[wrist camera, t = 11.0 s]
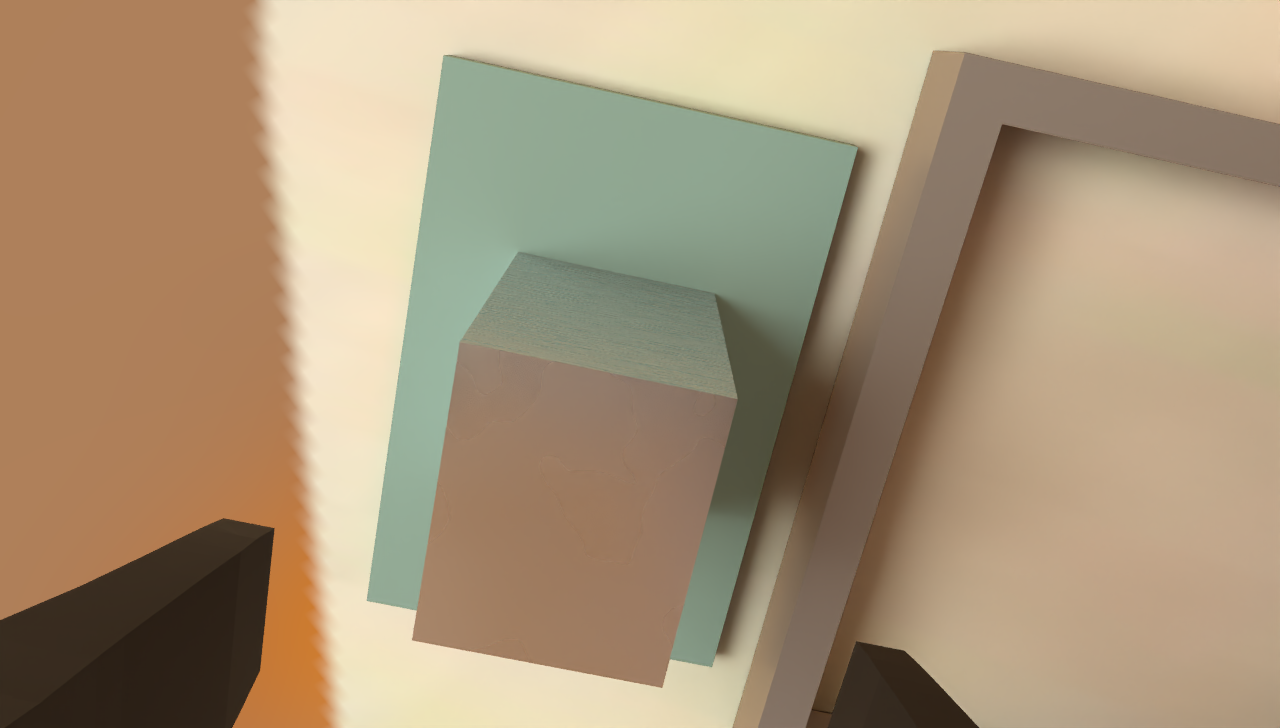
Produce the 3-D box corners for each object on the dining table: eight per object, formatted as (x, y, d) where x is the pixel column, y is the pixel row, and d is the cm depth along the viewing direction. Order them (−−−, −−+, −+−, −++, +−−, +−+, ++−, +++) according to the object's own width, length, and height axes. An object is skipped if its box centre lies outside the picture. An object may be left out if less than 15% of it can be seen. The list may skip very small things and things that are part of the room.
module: (661, 511, 21) (662, 687, 15) (479, 475, 21) (412, 640, 15) (714, 293, 19) (737, 399, 14) (518, 251, 19) (459, 342, 14)
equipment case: (1316, 840, 24) (1673, 1277, 16) (731, 730, 23) (774, 1127, 15) (1663, 217, 19) (2473, 363, 11) (933, 50, 18) (1172, 63, 10)
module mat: (710, 653, 23) (712, 667, 22) (372, 589, 22) (366, 600, 22) (853, 144, 19) (858, 147, 18) (449, 54, 19) (443, 55, 18)
